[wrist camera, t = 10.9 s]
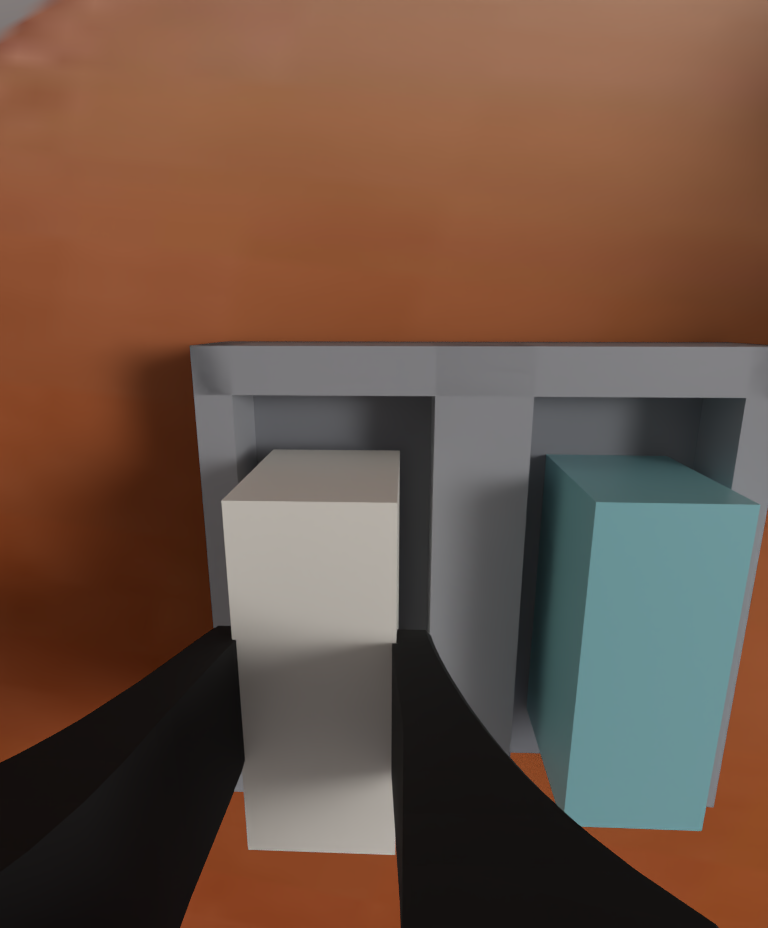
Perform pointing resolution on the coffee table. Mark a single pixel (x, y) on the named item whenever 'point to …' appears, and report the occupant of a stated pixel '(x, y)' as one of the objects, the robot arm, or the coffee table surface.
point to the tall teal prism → (635, 635)
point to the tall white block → (316, 646)
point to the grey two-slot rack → (481, 466)
